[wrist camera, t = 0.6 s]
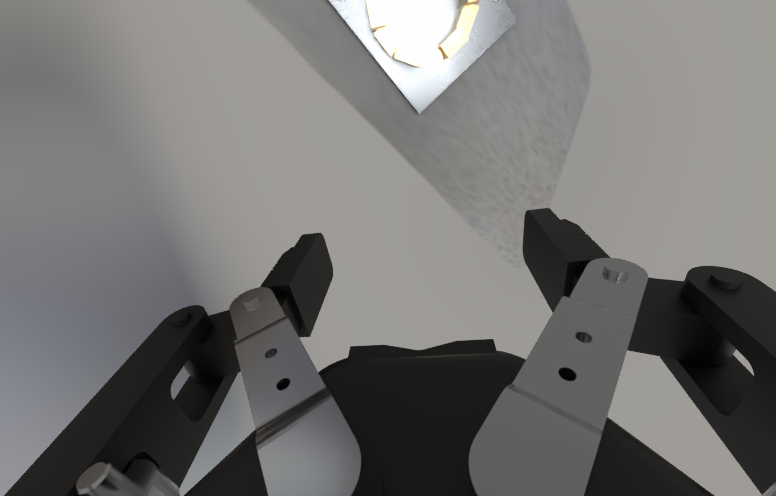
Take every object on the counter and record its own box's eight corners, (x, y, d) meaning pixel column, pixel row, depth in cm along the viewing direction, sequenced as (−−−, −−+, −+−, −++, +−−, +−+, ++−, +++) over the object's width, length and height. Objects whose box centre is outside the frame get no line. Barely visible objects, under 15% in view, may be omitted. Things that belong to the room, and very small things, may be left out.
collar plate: (319, -11, 26) (312, -22, 23) (420, -140, 23) (427, -174, 19) (418, 112, 31) (422, 117, 28) (512, 22, 28) (530, 16, 25)
